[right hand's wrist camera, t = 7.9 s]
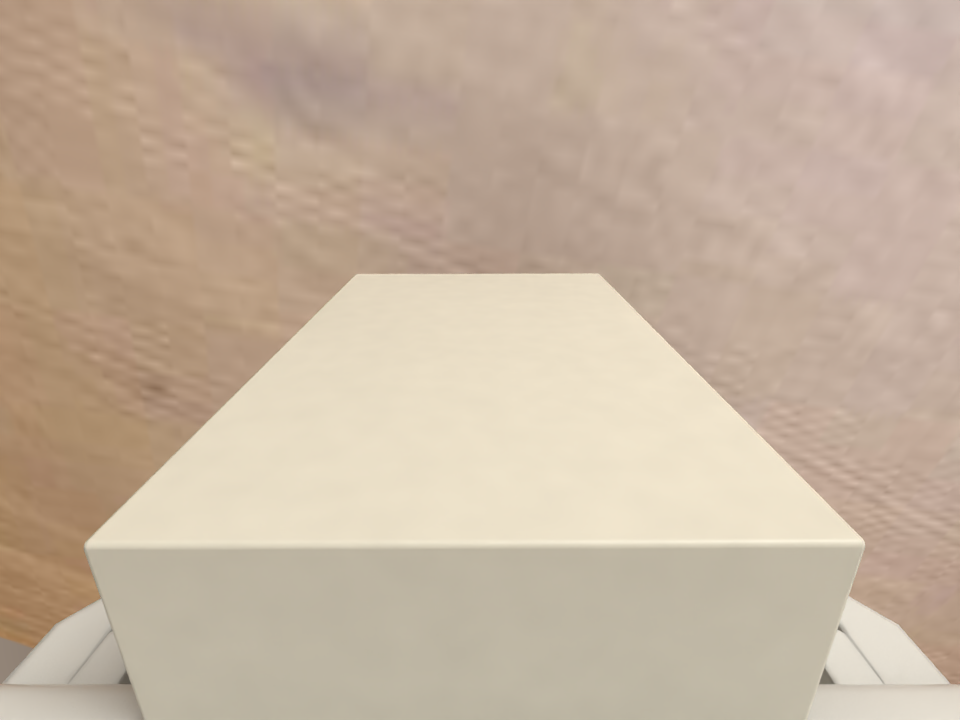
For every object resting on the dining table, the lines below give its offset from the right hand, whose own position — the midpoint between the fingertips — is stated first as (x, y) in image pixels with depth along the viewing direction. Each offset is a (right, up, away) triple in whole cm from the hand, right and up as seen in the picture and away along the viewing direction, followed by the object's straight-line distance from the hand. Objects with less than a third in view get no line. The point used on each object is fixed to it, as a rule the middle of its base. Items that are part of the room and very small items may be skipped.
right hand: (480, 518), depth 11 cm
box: (0, -7, +8) cm, 10 cm away
